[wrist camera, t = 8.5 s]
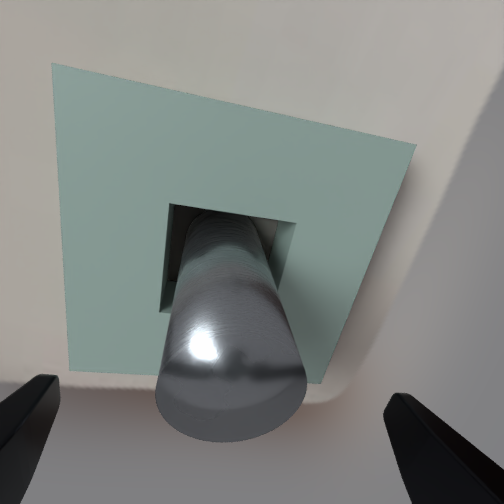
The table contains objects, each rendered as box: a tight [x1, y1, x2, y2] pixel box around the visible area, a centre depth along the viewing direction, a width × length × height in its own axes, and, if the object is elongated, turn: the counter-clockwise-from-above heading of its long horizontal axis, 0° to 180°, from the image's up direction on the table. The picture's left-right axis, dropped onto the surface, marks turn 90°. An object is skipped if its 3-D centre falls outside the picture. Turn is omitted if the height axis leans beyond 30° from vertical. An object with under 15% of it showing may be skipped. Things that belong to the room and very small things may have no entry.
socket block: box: [52, 63, 417, 384], centre depth 16 cm, size 14×14×3 cm
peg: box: [155, 210, 307, 442], centre depth 13 cm, size 4×4×10 cm
